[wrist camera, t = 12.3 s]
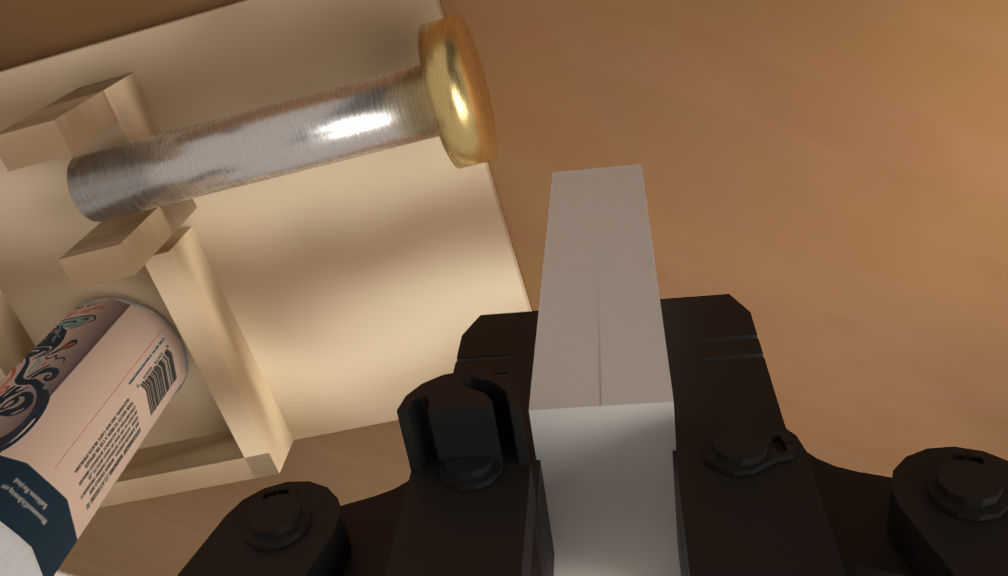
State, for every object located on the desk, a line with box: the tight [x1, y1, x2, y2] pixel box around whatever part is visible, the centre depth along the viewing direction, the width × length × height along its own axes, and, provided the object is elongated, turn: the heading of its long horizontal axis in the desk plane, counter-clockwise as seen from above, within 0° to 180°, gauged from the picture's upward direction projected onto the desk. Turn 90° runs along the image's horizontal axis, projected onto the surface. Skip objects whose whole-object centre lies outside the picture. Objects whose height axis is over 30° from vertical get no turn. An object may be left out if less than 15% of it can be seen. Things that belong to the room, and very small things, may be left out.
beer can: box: [0, 298, 188, 576], centre depth 27 cm, size 5×5×12 cm
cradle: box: [0, 0, 532, 508], centre depth 29 cm, size 16×21×6 cm
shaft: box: [67, 14, 497, 222], centre depth 25 cm, size 4×12×4 cm, turn 105°
